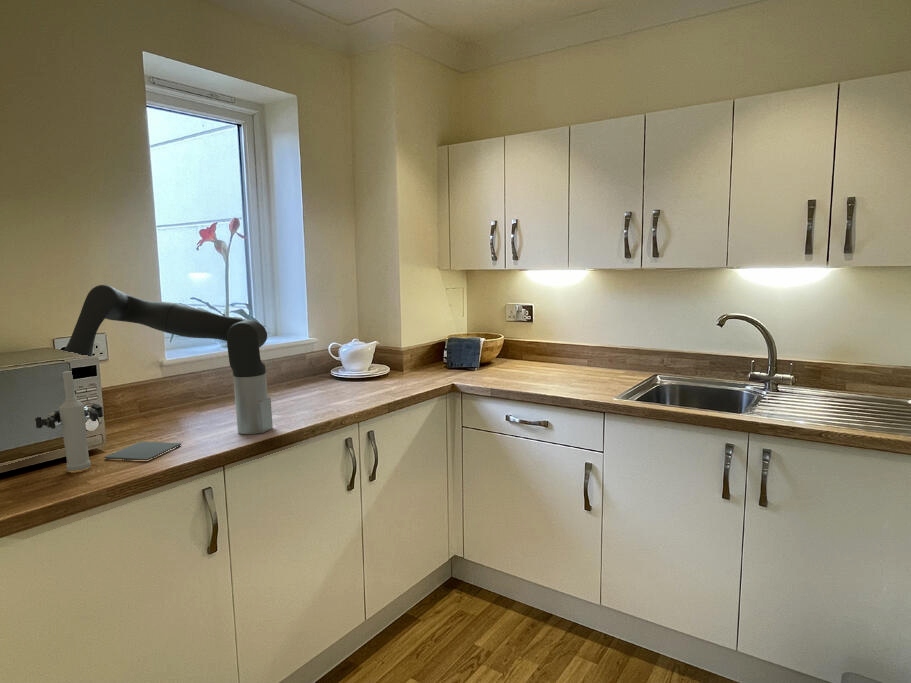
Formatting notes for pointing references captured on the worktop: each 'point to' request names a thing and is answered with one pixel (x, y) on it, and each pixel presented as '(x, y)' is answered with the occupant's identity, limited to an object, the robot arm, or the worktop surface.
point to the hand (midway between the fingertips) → (74, 420)
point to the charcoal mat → (142, 451)
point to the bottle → (73, 427)
